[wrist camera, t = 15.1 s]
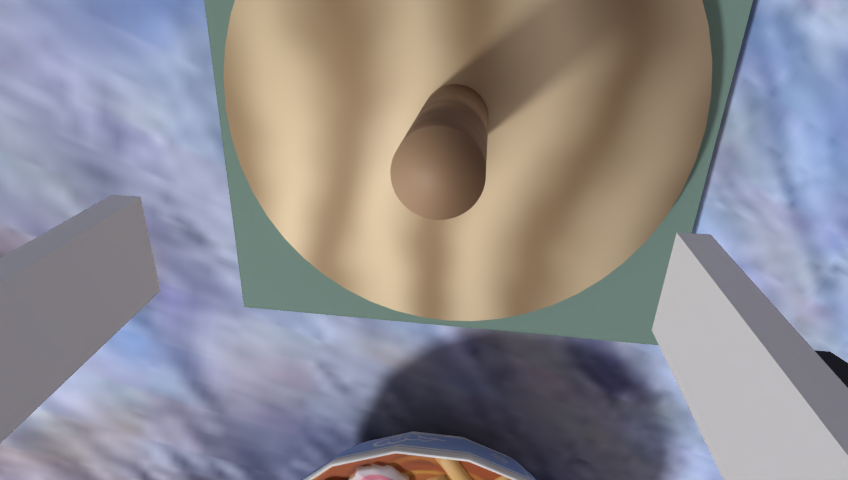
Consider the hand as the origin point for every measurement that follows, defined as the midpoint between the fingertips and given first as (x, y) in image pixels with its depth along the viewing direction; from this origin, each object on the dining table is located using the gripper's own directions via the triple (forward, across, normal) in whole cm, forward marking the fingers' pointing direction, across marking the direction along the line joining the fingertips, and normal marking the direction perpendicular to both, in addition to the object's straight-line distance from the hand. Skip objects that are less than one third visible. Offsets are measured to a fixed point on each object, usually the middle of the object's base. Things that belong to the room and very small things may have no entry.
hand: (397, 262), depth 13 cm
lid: (+18, +1, 0) cm, 19 cm away
